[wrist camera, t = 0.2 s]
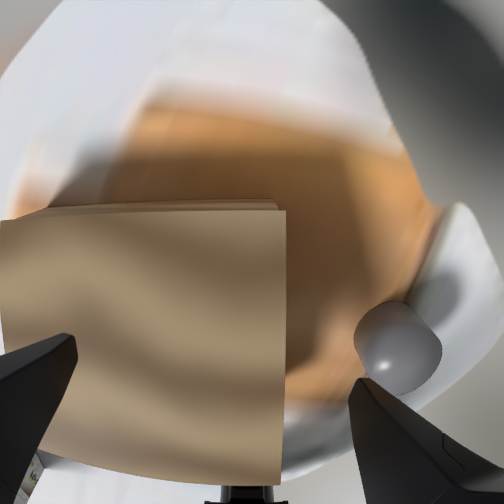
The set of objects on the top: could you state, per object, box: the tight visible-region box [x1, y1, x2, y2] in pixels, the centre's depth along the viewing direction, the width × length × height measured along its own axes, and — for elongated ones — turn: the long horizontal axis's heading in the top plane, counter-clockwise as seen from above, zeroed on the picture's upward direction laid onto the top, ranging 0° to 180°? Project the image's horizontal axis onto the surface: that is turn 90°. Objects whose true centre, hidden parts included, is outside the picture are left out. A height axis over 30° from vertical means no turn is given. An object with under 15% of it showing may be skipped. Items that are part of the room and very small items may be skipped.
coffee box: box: [14, 453, 44, 504], centre depth 25 cm, size 9×6×16 cm
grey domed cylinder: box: [354, 301, 442, 396], centre depth 22 cm, size 6×6×5 cm
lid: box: [0, 210, 286, 486], centre depth 16 cm, size 16×18×1 cm
